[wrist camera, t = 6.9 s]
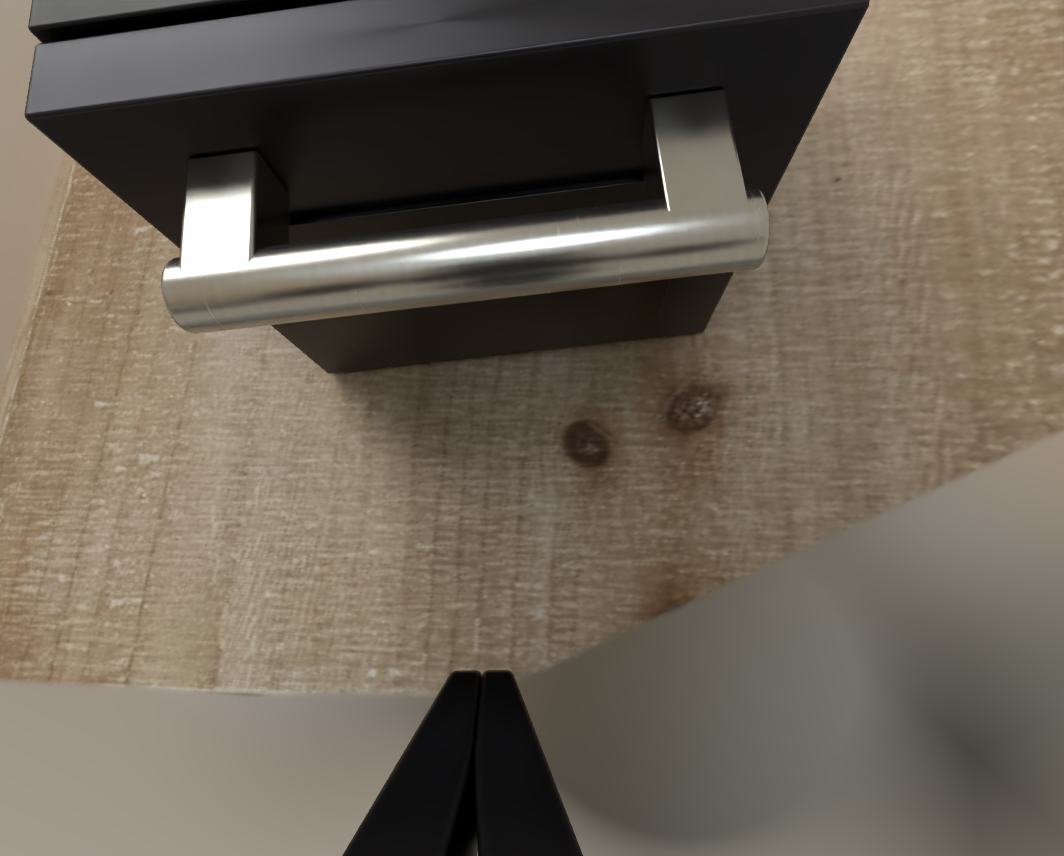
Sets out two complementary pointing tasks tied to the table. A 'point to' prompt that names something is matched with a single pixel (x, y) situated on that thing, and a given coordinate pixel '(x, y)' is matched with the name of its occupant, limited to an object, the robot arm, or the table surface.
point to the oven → (137, 14)
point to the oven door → (450, 163)
